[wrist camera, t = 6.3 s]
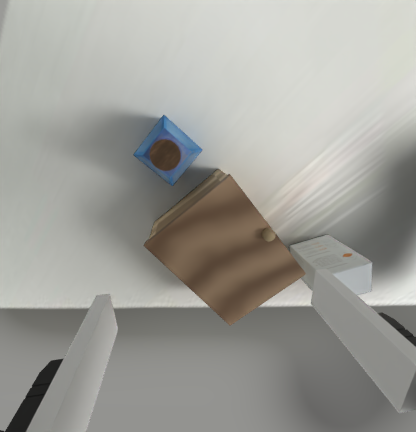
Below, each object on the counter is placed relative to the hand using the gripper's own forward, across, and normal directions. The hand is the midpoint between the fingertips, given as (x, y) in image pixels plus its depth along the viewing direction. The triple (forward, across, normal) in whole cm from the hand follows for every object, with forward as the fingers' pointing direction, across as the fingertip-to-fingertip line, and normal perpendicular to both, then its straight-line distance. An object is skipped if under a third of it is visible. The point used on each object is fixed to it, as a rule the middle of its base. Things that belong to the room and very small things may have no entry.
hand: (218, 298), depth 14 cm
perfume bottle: (+25, -3, +8) cm, 26 cm away
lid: (+16, +4, -6) cm, 17 cm away
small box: (+24, +22, -12) cm, 35 cm away
